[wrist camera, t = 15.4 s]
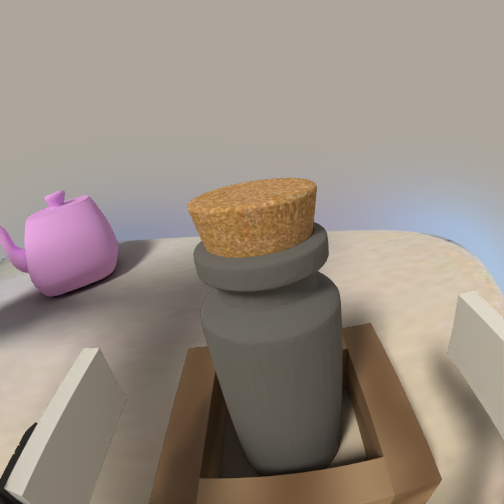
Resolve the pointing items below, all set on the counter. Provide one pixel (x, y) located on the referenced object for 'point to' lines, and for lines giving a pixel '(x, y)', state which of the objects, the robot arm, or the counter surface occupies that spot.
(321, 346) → the bottle
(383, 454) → the block
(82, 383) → the robot arm
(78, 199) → the teapot
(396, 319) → the counter surface
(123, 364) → the counter surface
